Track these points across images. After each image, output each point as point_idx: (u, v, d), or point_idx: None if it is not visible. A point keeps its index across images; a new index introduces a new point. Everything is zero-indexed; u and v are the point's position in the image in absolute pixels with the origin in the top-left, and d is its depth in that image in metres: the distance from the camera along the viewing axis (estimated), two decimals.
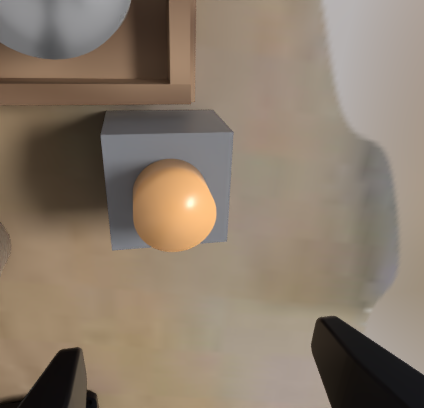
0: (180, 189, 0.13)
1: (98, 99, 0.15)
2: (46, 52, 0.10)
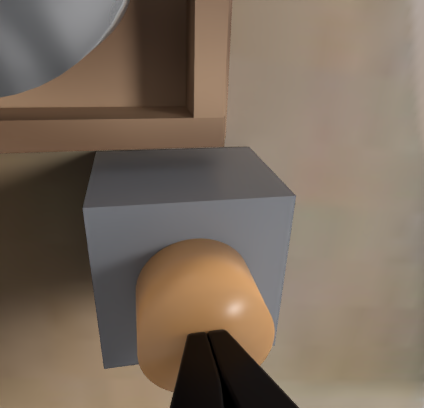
0: (218, 306, 0.08)
1: (81, 143, 0.09)
2: None
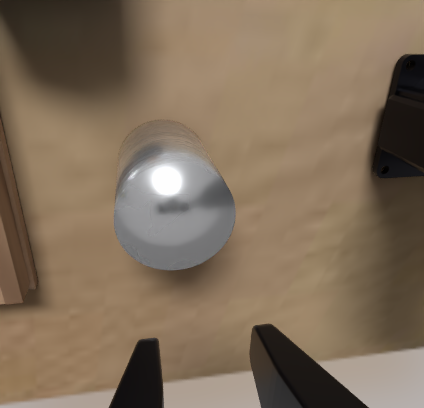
0: None
1: None
2: None
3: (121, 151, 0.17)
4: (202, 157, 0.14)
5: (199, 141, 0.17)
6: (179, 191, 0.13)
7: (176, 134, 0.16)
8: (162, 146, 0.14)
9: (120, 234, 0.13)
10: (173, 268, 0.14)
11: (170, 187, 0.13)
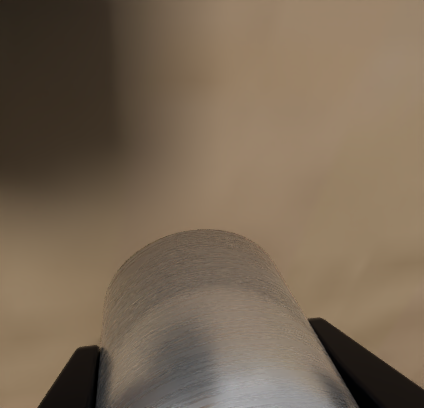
0: None
1: None
2: None
3: (109, 310, 0.08)
4: None
5: (286, 289, 0.08)
6: None
7: (247, 303, 0.06)
8: (229, 401, 0.05)
9: None
10: None
11: None
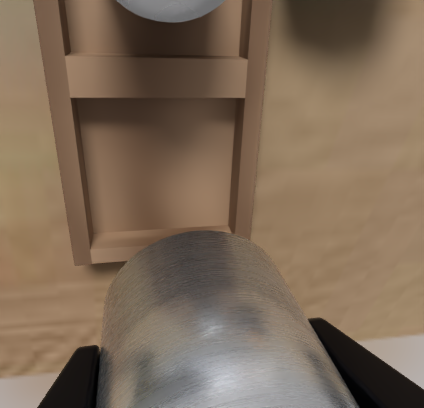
0: None
1: None
2: None
3: (110, 311, 0.08)
4: None
5: (287, 290, 0.08)
6: None
7: (248, 304, 0.06)
8: (230, 402, 0.05)
9: None
10: None
11: None
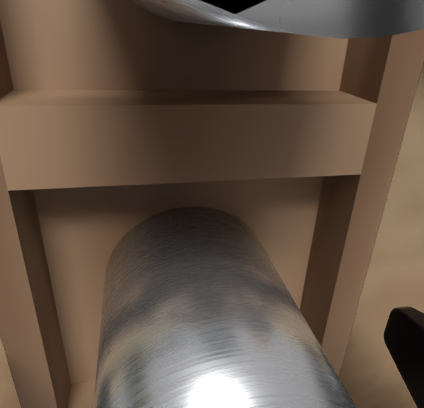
0: None
1: None
2: None
3: (110, 276, 0.09)
4: (309, 361, 0.06)
5: (266, 257, 0.09)
6: None
7: (229, 264, 0.07)
8: (209, 333, 0.06)
9: None
10: None
11: None
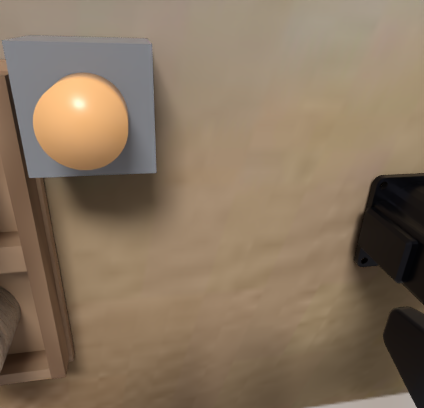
0: (46, 123, 0.12)
1: (17, 164, 0.16)
2: None
3: None
4: None
5: None
6: None
7: None
8: None
9: None
10: None
11: None
